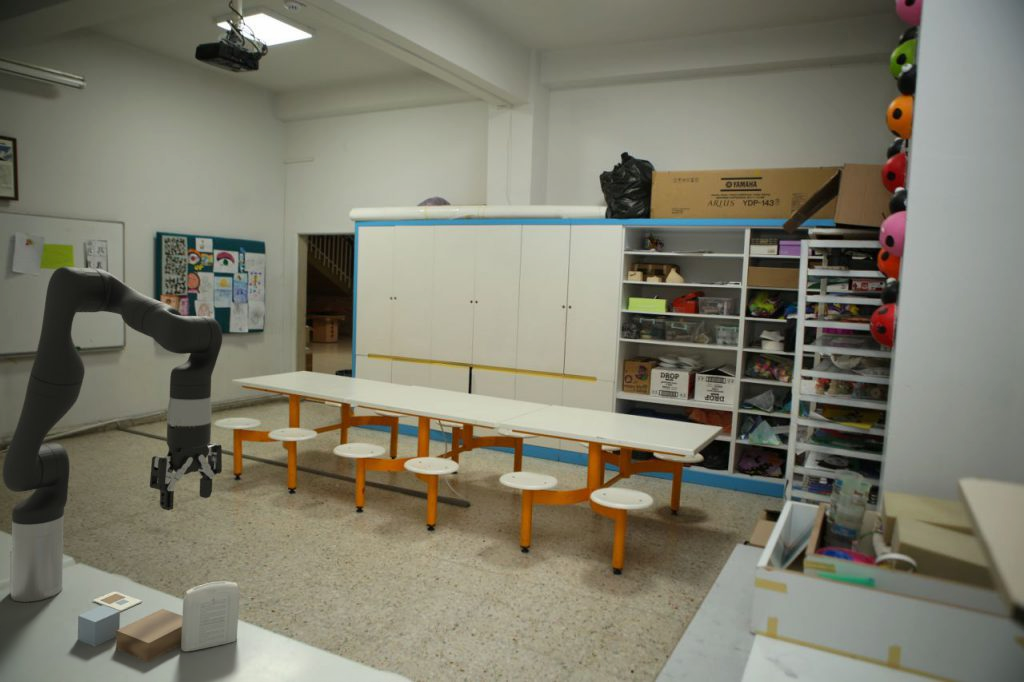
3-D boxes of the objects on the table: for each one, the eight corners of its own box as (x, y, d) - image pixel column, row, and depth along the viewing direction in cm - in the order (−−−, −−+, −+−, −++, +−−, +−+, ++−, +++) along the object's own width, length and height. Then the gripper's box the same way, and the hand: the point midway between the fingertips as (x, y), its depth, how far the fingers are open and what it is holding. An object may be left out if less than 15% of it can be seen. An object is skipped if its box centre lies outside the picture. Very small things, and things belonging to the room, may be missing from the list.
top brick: (77, 640, 126) (78, 615, 126) (102, 628, 131) (103, 604, 131) (94, 647, 124) (95, 622, 124) (119, 635, 129) (119, 611, 129)
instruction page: (92, 601, 141) (92, 599, 141) (114, 592, 146) (114, 590, 146) (120, 611, 138) (120, 610, 138) (142, 602, 142) (142, 600, 142)
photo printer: (235, 632, 133) (237, 574, 132) (239, 642, 129) (241, 582, 128) (179, 644, 127) (181, 583, 126) (182, 655, 124) (184, 593, 123)
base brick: (115, 650, 124) (116, 630, 124) (162, 627, 133) (162, 608, 133) (148, 663, 121) (148, 643, 120) (193, 639, 130) (194, 619, 130)
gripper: (205, 412, 131) (202, 490, 132) (141, 423, 118) (139, 509, 119) (233, 417, 128) (230, 497, 129) (171, 429, 115) (168, 517, 116)
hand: (186, 503), depth 124 cm, fingers open, 8 cm apart
